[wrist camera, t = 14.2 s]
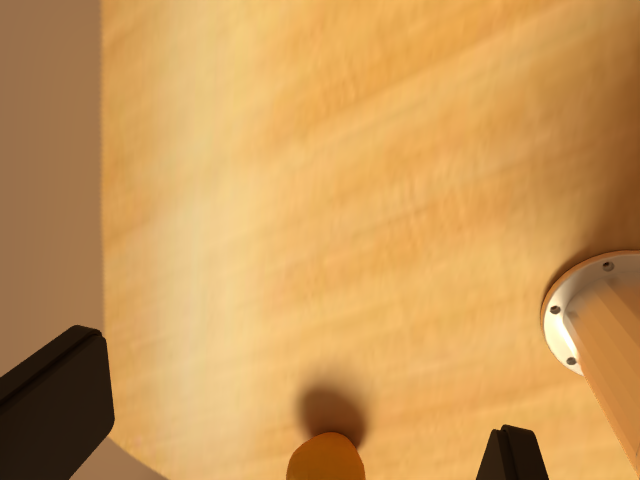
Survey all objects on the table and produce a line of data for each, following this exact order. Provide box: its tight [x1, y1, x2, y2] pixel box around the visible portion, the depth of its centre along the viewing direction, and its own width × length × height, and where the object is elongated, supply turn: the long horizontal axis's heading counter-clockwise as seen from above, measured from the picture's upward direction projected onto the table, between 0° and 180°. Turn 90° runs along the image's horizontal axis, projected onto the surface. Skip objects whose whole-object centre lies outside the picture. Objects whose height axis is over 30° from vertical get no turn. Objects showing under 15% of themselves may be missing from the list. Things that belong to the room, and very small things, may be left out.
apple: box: [286, 432, 366, 480], centre depth 46 cm, size 8×8×9 cm
